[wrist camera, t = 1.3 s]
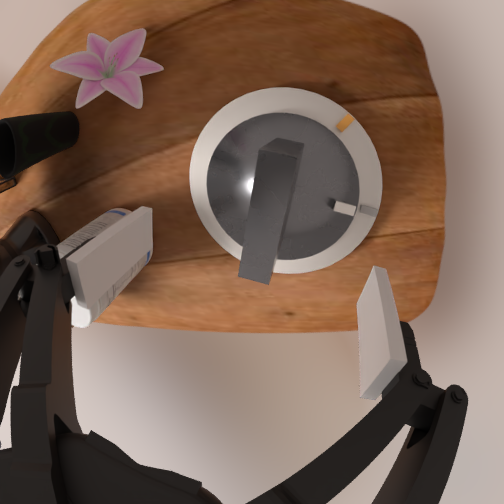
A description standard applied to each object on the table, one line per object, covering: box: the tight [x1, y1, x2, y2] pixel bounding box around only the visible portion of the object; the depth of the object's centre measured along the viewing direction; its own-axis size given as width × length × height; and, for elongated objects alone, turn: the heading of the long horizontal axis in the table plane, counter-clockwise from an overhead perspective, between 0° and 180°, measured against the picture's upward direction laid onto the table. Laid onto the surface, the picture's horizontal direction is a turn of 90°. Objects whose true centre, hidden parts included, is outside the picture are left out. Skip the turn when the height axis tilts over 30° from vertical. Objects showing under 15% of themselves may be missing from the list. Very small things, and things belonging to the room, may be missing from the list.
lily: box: [50, 28, 164, 109], centre depth 23 cm, size 12×12×10 cm
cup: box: [0, 112, 79, 179], centre depth 27 cm, size 8×8×12 cm
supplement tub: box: [57, 208, 153, 328], centre depth 32 cm, size 10×10×15 cm
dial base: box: [190, 87, 382, 274], centre depth 28 cm, size 20×20×2 cm
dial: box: [206, 113, 360, 285], centre depth 24 cm, size 15×15×9 cm
